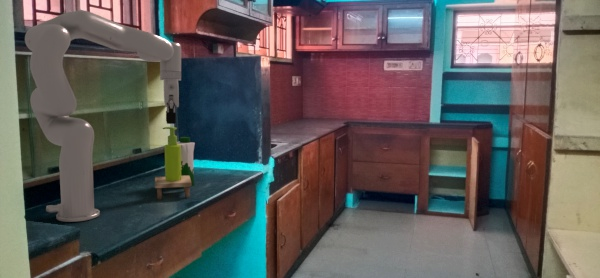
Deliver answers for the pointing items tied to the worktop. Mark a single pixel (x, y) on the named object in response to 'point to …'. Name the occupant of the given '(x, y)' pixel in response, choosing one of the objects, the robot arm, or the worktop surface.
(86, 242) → the worktop surface
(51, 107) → the robot arm
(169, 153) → the soap dispenser
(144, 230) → the worktop surface
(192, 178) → the milk carton
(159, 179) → the stool
